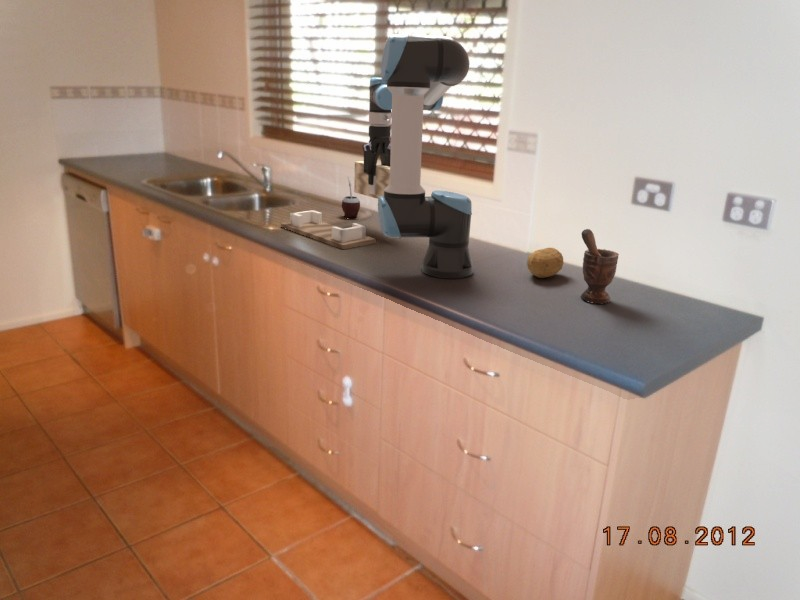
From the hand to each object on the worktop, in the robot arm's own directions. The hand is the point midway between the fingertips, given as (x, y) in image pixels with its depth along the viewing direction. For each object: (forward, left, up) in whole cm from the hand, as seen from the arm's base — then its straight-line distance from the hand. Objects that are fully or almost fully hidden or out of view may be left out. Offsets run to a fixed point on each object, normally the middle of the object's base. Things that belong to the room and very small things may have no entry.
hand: (378, 193), depth 234 cm
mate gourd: (+22, +10, -14) cm, 28 cm away
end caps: (-7, +18, -12) cm, 23 cm away
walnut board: (-7, +18, -14) cm, 23 cm away
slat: (0, 0, -1) cm, 1 cm away
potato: (-49, -48, -14) cm, 70 cm away
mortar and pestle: (-70, -56, -14) cm, 91 cm away
